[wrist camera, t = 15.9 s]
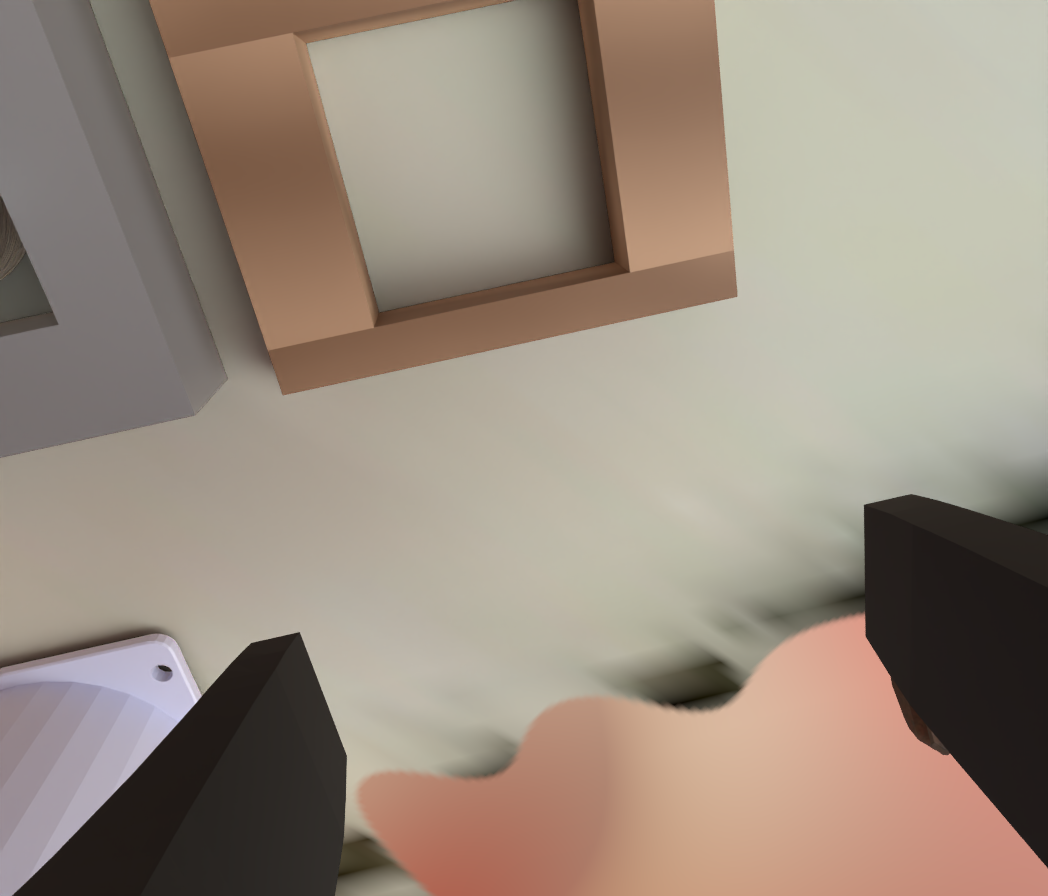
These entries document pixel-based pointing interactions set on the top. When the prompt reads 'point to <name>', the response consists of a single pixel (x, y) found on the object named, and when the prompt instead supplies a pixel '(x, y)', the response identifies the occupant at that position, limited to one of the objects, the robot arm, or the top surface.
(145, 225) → the frame
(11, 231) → the peg
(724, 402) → the top surface
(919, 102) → the top surface
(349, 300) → the socket board
